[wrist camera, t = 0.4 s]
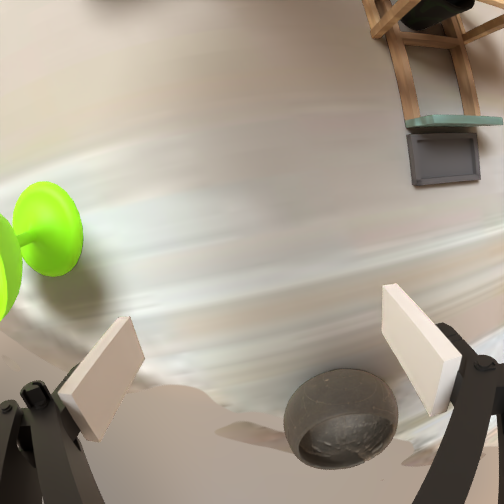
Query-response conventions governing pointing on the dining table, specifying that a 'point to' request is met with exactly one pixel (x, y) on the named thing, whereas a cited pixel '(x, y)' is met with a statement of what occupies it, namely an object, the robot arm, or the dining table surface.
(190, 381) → the dining table surface
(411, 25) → the cup
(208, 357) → the dining table surface
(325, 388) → the bowl
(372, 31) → the brown wooden frame
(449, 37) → the sled
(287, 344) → the dining table surface
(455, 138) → the tray
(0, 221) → the wineglass
